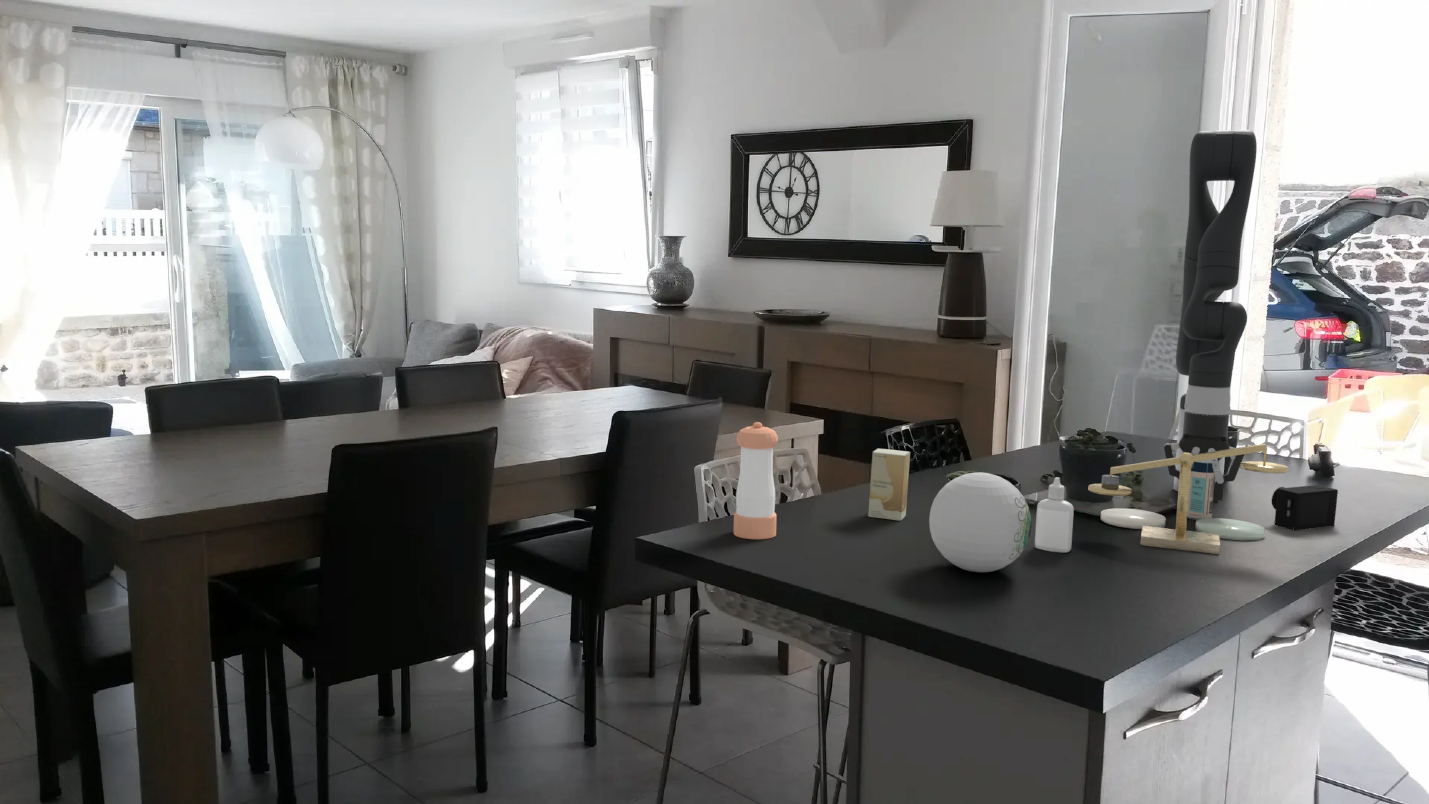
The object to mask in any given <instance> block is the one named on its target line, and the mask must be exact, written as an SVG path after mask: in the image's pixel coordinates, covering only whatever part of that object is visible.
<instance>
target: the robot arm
mask: <svg viewBox="0 0 1429 804" xmlns="http://www.w3.org/2000/svg"><path fill="white" fill-rule="evenodd" d="M1257 144H1258V143H1257V138H1256V134H1255V133H1254V131H1253V130H1250V129H1224V130H1223V129H1218V130H1214V129H1213V130H1202V131H1201V130H1200V131H1198V132H1196V133H1195V135H1194V136H1193V138H1192V141H1191V144H1190V150H1189V151H1190V152H1189V177H1188V178H1189V185H1188V187H1189V191H1188V193H1189V195H1188V196H1189V197H1188V198H1189V199H1188V200H1189V202H1188V204H1189V205H1188V218H1187V219H1188V221H1187V228H1186V229H1187V230H1186V237H1185V249H1184V262H1183V280H1182V281H1183V285H1182V286H1183V287H1182V289H1183V290H1182V306H1181V314H1180V322H1179V330H1178V336H1177V337H1178V338H1177V344H1176V353H1175V364H1176V365H1175V366H1176V370H1177V372H1178V373H1179V374H1180V375H1182V376H1187V377H1188V381H1187V390H1186V393H1184V394H1183V395H1181V397H1180V401H1179V412H1178V413H1179V415H1178V427H1177V440H1176V442H1173V443H1172V442H1171V443H1169V442H1166V443H1164V446H1163V447H1164V448H1163V450H1164V454H1165V459H1169V458H1175V457H1179V456H1180V454H1182V453H1184V452H1189V453H1191V454H1192V455H1195V454H1201V453H1208V452H1214V451H1221V450H1227V449H1234V448H1235V447H1232V446H1230V443H1229V442H1228V434H1229V421H1230V411H1231V386H1232V385H1231V383H1232V378H1233V371H1234V364H1235V356H1236V352H1237V351H1236V350H1237V348H1238V345H1239V343H1240V340H1241V338H1242V336H1243V334H1244V331H1245V328H1246V326H1247V322H1248V313H1247V310H1246V308H1245V307H1244V306H1243V304H1241V303H1239V302H1236V301H1217V300H1218V299H1219V298H1220V296H1221V295H1223V293H1224V292H1226V291H1230V290H1233V289H1235V288H1236V287H1237V285H1238V283H1239V277H1240V262H1241V261H1240V260H1241V249H1242V239H1243V233H1244V228H1245V222H1246V217H1247V214H1248V213H1247V212H1248V209H1249V204H1250V203H1249V202H1250V198H1251V193H1252V187H1253V183H1254V182H1253V180H1254V175H1255V170H1256V162H1257V160H1256V159H1257V152H1258V151H1257V149H1258V148H1257ZM1224 181H1225V182H1227V181H1230V182H1231V181H1233V187H1232V190H1231V194H1230V195H1229V196H1230V197H1229V198H1228V200H1227V201H1226V203H1225V205H1224V206H1223V208H1222V209H1221V210H1220V212H1219V211H1218V210H1217V207H1216V206H1215V203H1214V201H1213V200H1212V196H1211V193H1210V192H1209V191H1210V190H1209V186H1208V182H1224ZM1229 457H1230V459H1231V460H1232V462H1231V464H1230V468H1229V470H1228V471H1227V472H1228V473H1226V474H1224V473H1225V472H1224V470H1225V461H1226V460H1225V458H1226V457H1222V458H1216V459H1211V460H1212V462H1213V463H1212V467H1213V471H1214V474H1215V488H1214V500H1213V504H1218V503H1219V501H1222V500H1223V496H1224V495H1223V494H1224V485H1225V483H1228V482H1234V481H1235V480H1236V477H1237V475H1238V472H1239V470H1240V463H1241V462H1243V459H1244V457H1245V454H1242V455H1236V456H1229ZM1193 463H1194V462H1193ZM1215 465H1216V466H1215ZM1192 466H1193V464H1192V465H1191V468H1192ZM1180 467H1181V464H1176V465H1170V466H1167V469H1168V473H1169V476H1171V477H1174V478H1173V490H1174V491H1176V492H1177V493H1178V492H1179V479H1180Z"/></svg>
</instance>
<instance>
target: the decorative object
mask: <svg viewBox="0 0 1429 804" xmlns="http://www.w3.org/2000/svg"><path fill="white" fill-rule="evenodd" d="M928 522H929V532H930V536H931V539H932V540H933V543H934V545H935V546H936V547H935V548H937V550H938V551H939V552H940V554H941V555H942V557H944V558H945V559H946V560H947V561H949V563H951V564H952V565H954V566H956V567H957V568H960V569H962V570H965V571H968V572H975V573H989V572H994V571H997V570H998V571H999V570H1000V569H1004V568H1005V567H1007V566H1008V565H1010V564H1012V563H1013V562H1014V561H1016V560H1017V558H1018V557H1020V556H1021V554H1022V552H1024V550H1025V548H1026V546H1027V545H1028V543H1029V539H1030V537H1031V531H1032V516H1031V512H1030V508H1029V505H1028V503H1027V501H1026V499H1025V497H1024V495H1023V494H1022V493H1021V492H1020V490H1019V489H1018V488H1017V487H1016V486H1015V485H1014V484H1012V483H1011V482H1010V481H1009V480H1007V479H1004V478H1003V477H1001V476H1000V475H999V476H998V475H996V474H993V473H989V472H981V471H980V472H970V473H965V474H962V475H960V476H957V477H955V478H953V479H952V480H950V481H949V482H947V483H946V484H945V485H944V486H943V487H942V488H941V489H940V490H939V491H938V493H937V494H936V496H935V497H934V499H933V502H932V504H931V506H930V512H929V519H928Z"/></svg>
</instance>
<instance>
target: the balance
mask: <svg viewBox="0 0 1429 804" xmlns="http://www.w3.org/2000/svg"><path fill="white" fill-rule="evenodd" d="M1233 448H1234V449H1227V450H1221V451H1214V452H1208V453H1201V454H1195V455H1192V454H1191V453H1189V452H1184V453H1182V454H1180V456H1179V457H1176V456H1174V458H1169V459H1166V458H1163V459H1157V460H1156V459H1155V460H1151V461H1143V462H1138V463H1137V462H1136V463H1132V464H1130V463H1129V464H1125V465H1117V466H1111V467H1110V471H1109V474H1103V475H1101V483H1092V484H1089V485H1088V488H1087V489H1088V491H1089V492H1091V493H1094V494H1098V495H1104V496H1111V497H1112V496H1113V497H1123V496H1131V495H1132V493H1133V492H1132V491H1133V490H1132V488H1130V487H1128V486H1125V485H1120V476H1118V475H1116V474H1123V473H1128V472H1136V471H1142V470H1143V471H1144V470H1148V469H1150V470H1151V469H1155V468H1156V469H1157V468H1163V467H1168V466H1170V465H1176V464H1181V467H1180V479H1179V492H1178V491H1177V506H1176V519H1175V529H1174V528H1165V527H1163V528H1158V527H1149V526H1143V528H1142V529H1141V535H1140V544H1139V545H1140V546H1147V547H1156V548H1164V549H1170V550H1171V549H1173V550H1181V551H1188V552H1196V553H1206V554H1214V555H1215V554H1216V555H1220V553H1221V552H1220V549H1221V541H1220V540H1221V538H1219V534H1213V533H1204V532H1198V531H1196V530H1195V531H1194V530H1187V520H1188V517H1187V510H1188V498H1189V485H1190V473H1191V465H1192V464H1193V462H1196V461H1203V460H1209V459H1216V458H1222V457H1225V458H1227V457H1228V458H1229V457H1230V456H1236V455H1242V454H1244V455H1247V454H1254V453H1261V452H1263V453H1264V454H1263V460H1262V461H1254V460H1253V461H1251V460H1250V461H1249V460H1248V461H1247V460H1245V461H1242V462H1241V463H1240V467H1239V469H1243V470H1246V471H1250V472H1255V473H1264V474H1286V473H1288V472H1289V470H1290V469H1289V466H1287V465H1284V464H1280V463H1275V462H1269V461H1268V462H1267V451H1268V447H1267V445H1266V443H1259V444H1254V445H1248V446H1247V445H1245V446H1240V447H1233Z"/></svg>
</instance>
